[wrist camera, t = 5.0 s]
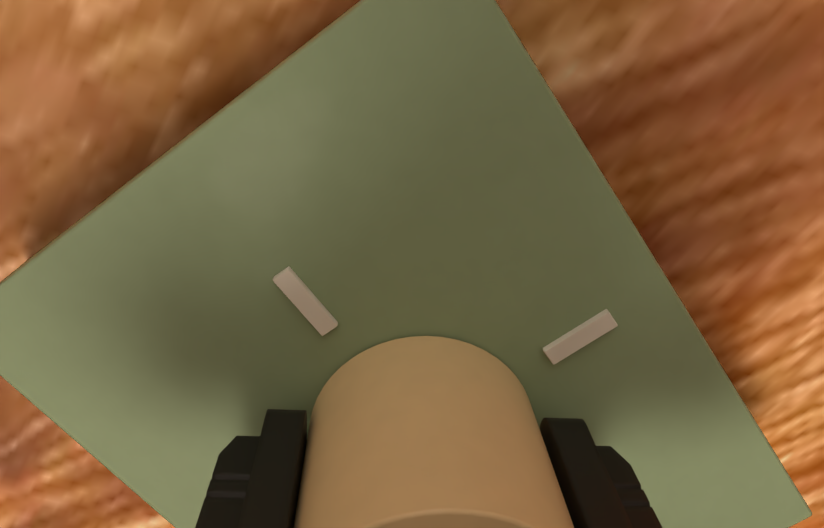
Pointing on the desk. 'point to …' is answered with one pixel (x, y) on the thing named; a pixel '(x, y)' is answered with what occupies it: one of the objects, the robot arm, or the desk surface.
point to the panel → (378, 273)
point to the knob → (426, 444)
